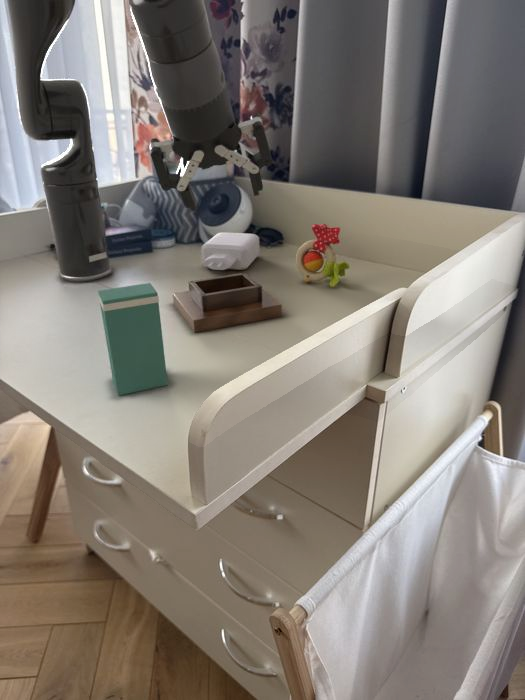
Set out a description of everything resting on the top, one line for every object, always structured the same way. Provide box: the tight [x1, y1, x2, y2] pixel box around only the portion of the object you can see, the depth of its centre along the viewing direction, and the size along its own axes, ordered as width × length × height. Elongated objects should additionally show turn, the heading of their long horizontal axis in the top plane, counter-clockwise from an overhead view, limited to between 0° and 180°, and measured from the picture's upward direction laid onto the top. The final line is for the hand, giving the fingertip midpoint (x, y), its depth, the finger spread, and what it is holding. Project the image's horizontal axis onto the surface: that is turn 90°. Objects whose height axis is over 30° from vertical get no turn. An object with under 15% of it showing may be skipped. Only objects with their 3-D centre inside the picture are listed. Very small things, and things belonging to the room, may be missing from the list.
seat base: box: [172, 272, 282, 333], centre depth 86 cm, size 14×12×4 cm
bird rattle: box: [295, 223, 350, 288], centre depth 95 cm, size 6×11×9 cm
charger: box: [200, 231, 260, 271], centre depth 105 cm, size 5×9×15 cm
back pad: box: [97, 282, 169, 397], centre depth 64 cm, size 6×4×12 cm, turn 113°
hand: (224, 199), depth 72 cm, fingers open, 8 cm apart
